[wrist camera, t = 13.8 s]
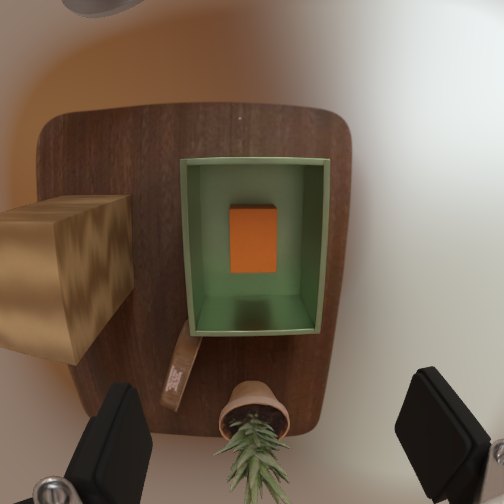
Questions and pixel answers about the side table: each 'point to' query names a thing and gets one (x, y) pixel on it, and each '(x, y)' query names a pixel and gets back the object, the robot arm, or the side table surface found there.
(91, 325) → the wood grain block
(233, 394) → the potted plant
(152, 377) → the side table surface
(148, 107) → the side table surface
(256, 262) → the block
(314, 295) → the trash bin
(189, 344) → the tin
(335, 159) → the side table surface
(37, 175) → the side table surface
